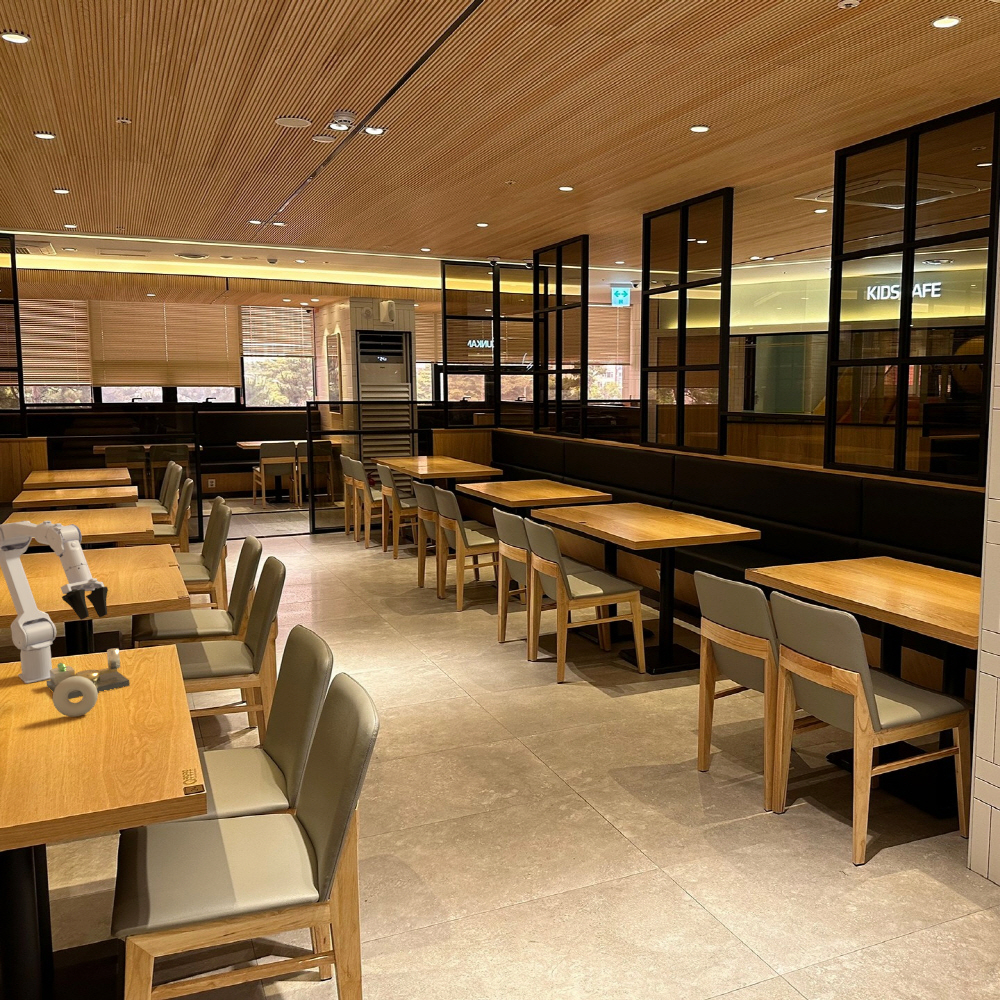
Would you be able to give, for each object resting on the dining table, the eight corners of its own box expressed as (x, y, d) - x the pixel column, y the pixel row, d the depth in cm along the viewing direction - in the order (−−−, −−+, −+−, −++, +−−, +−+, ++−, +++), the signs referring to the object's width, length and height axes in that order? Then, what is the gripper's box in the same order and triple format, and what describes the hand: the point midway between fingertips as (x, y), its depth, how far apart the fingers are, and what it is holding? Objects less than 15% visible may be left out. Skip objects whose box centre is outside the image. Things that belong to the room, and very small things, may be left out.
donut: (99, 710, 221) (96, 671, 220) (99, 715, 218) (96, 675, 217) (54, 717, 217) (51, 677, 216) (53, 721, 214) (50, 681, 213)
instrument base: (47, 686, 241) (45, 664, 240) (112, 672, 251) (111, 651, 251) (61, 700, 229) (59, 677, 228) (129, 685, 240) (127, 663, 239)
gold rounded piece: (78, 685, 236) (76, 659, 235) (72, 680, 240) (70, 654, 240) (123, 675, 243) (122, 651, 242) (117, 670, 248) (115, 646, 247)
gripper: (70, 563, 225) (89, 612, 223) (106, 562, 239) (123, 608, 238) (47, 574, 226) (65, 623, 225) (84, 572, 240) (102, 619, 239)
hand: (94, 616), depth 231 cm, fingers open, 7 cm apart
